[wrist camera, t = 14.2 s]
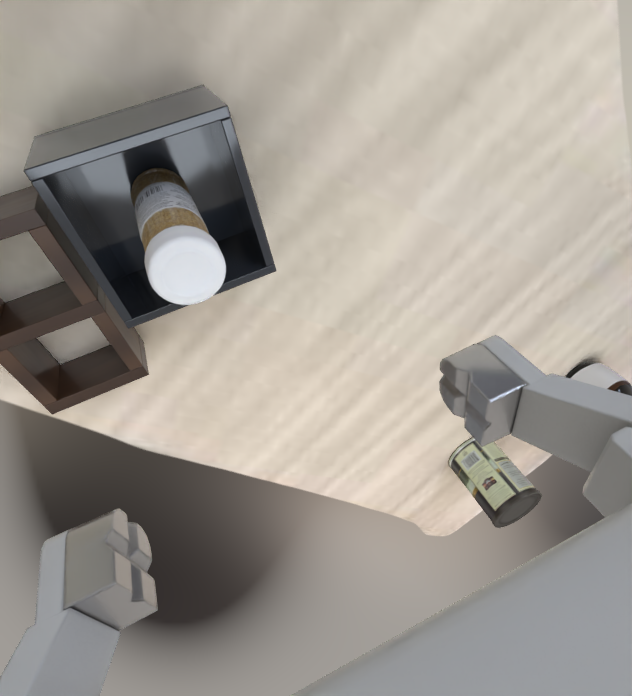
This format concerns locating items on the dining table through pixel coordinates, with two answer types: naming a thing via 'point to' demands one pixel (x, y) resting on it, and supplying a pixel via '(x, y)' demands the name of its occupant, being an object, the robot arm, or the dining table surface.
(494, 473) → the coffee can
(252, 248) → the dark grey open box
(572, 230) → the dining table surface
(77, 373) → the rack
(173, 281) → the spice jar
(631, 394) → the spread jar
